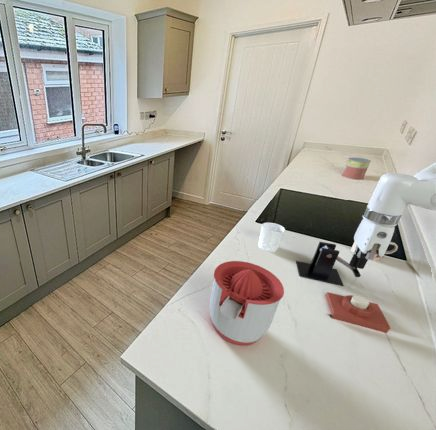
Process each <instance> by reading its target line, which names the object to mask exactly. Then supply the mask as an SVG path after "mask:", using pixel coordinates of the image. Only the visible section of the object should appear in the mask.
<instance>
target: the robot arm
mask: <svg viewBox="0 0 436 430" xmlns="http://www.w3.org/2000/svg"><path fill="white" fill-rule="evenodd" d="M409 205H412V206H415V207H419V208H423V209H427V210H431V211H436V161H435V162H434V163H432V164H430V165H428V166H427V167H425V168H423V169H422V170H420V171H418V172H416V173H415V174H414V175H410V174H406V173H401V172H400V173H399V172H387V173H383V174H382V175H381V176H380V178H379V180H378V181H377V185H376V186H375V188H374V191H373V192H372V195H371V197H370V199H369V201H368V202H367V206H366V208H365V210H364V212H363V214H362V216H361V217H362V219H361V221H360V223H359V224H358V227H357V229H356V230H355V233H354V235H353V241H354V242H356V244H357V246H356V249H355V251H354V253H355V254H354V253H353V254H352V257H351V259H350V261H349V264H350V265H351V267H355V268H357V269H359V270H360V269H361V270H363V269H364V268H365V266H366V265H367V263H368V261H374V260H373V259H374V256H375V253H377V254H378V256H380V257H381V258H383V257H384V255H386V254H385V252H386V251H388V247H389V246H390V244H389V243H390V241H391V242H392V238H393V236H394V233H395V230H396V229H395V228H396V226H397V225H398V224H399V222H400V220H401V218H402V216H403V215H404V213H405V211H406V209H407V207H408V206H409ZM367 253H368V254H367Z"/></svg>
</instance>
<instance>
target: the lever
mask: <svg viewBox="0 0 436 430" xmlns="http://www.w3.org/2000/svg"><path fill="white" fill-rule="evenodd" d="M322 248H327V249H331V248H330V247H329V246H327V245H325V246H324V247H322ZM322 248H321V249H322ZM321 249H320V251H321ZM332 250H333V249H332ZM336 261H337V262H339V263H341V265H343V266H345V267H346V268H348V269H349V270H351V271H352V273H353V275H354V277H355V278H360V277H361V276H362V274H361V273H360V271H359V268H355V267H351V265H350V262H347V261H346V260H344V259H343V258H341V257H340V256H339V255H338V257H337V259H336Z"/></svg>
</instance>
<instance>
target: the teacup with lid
mask: <svg viewBox="0 0 436 430" xmlns="http://www.w3.org/2000/svg"><path fill="white" fill-rule="evenodd" d="M389 245H391V246H393V248H392V249H390V250H386V252H385V254H384V255H391V254H393V253H395V252H397V251H398V249H399V246H398V244H396V242H394V241H392V240H391V241H390V243H389ZM356 246H357V244H356V242H355V241H354V242H353V244H352V246H351V248H350V252H351V253H353V255H354V254H355V253H354V251H355V249H356ZM367 254H368V253H367ZM381 258H382V257H380V256H378V254H377V253H375V256H374V259H373V260H372V261H379V260H381Z"/></svg>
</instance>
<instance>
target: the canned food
mask: <svg viewBox="0 0 436 430" xmlns="http://www.w3.org/2000/svg"><path fill="white" fill-rule="evenodd" d="M371 162H372V161H371V160H370V159H367V158H363V157H348V160H347V162H346V165H345V167H344V170H343V173H342V177H344V178H347V179H351V180H363V179H364V178H365V175H366V173H367V171H368V168H369V166H370V163H371Z"/></svg>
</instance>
